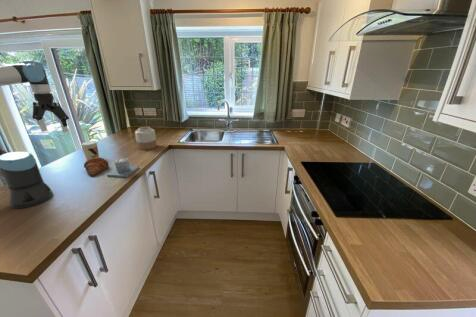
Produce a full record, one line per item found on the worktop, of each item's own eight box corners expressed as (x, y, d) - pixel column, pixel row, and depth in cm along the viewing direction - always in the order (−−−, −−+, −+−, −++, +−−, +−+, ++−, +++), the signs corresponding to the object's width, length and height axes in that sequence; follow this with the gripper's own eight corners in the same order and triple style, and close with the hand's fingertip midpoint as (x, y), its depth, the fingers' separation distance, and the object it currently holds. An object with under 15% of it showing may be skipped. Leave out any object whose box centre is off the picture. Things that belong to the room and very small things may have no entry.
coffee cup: (93, 161, 145) (88, 145, 141) (82, 160, 147) (77, 144, 143) (103, 156, 154) (99, 141, 150) (93, 155, 156) (88, 140, 151)
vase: (133, 149, 171) (129, 129, 165) (145, 143, 185) (142, 125, 179) (149, 150, 168) (146, 130, 162) (160, 145, 182) (157, 126, 175)
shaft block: (126, 177, 123) (123, 165, 120) (107, 176, 124) (104, 164, 121) (139, 168, 136) (137, 156, 133) (122, 167, 137) (120, 155, 134)
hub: (125, 173, 126) (123, 162, 123) (114, 172, 126) (112, 162, 124) (132, 168, 132) (130, 158, 130) (122, 167, 133) (119, 157, 130)
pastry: (117, 168, 136) (114, 157, 133) (92, 177, 123) (88, 165, 120) (102, 163, 143) (99, 152, 140) (77, 171, 131) (74, 159, 128)
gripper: (69, 92, 111) (80, 131, 119) (29, 91, 114) (42, 129, 122) (56, 93, 104) (69, 134, 112) (14, 92, 107) (29, 132, 115)
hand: (55, 131), depth 117 cm, fingers open, 13 cm apart
